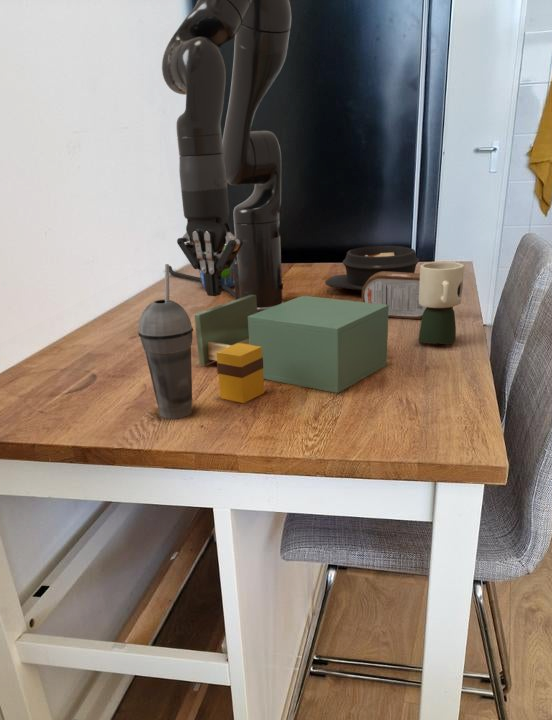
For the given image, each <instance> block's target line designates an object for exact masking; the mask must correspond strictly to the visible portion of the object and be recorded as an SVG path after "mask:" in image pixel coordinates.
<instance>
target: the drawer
mask: <svg viewBox="0 0 552 720" xmlns="http://www.w3.org/2000/svg"><path fill="white" fill-rule="evenodd" d="M255 313H258V312H257V301H256V295H248V296H246V297H243V298H240V299H237V300H236V299H234V300H232V301H228V302H226V303H223V304H220V305H217V306H214V307H211V308H208V309H205V310H202V311H199V312H197V313H194V325H195V334H196V345H197V354H198V363H199V365H202V366H206V365H208V364H210V363H213V362H217V353H216V352H217V351H220V350H222V349H225V348H227V347H229V346H232V345H234V344H237V343H242V344H248V345H249V330H248V316H250V315H253V314H255Z"/></svg>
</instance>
